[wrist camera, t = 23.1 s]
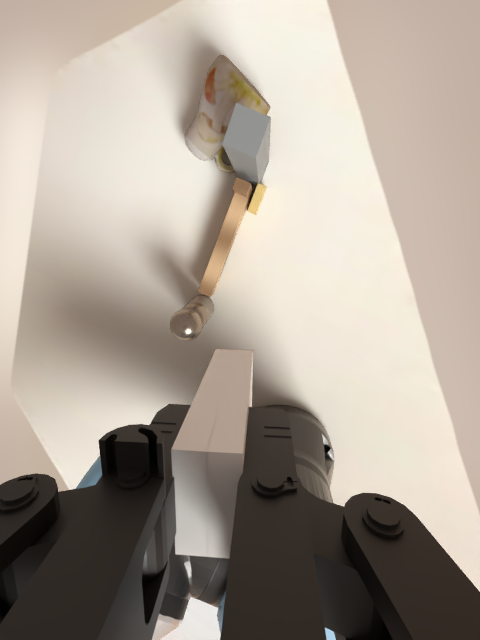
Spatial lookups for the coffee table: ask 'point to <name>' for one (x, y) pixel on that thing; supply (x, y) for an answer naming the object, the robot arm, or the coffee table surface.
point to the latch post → (249, 148)
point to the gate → (226, 236)
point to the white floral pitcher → (220, 110)
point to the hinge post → (191, 318)
